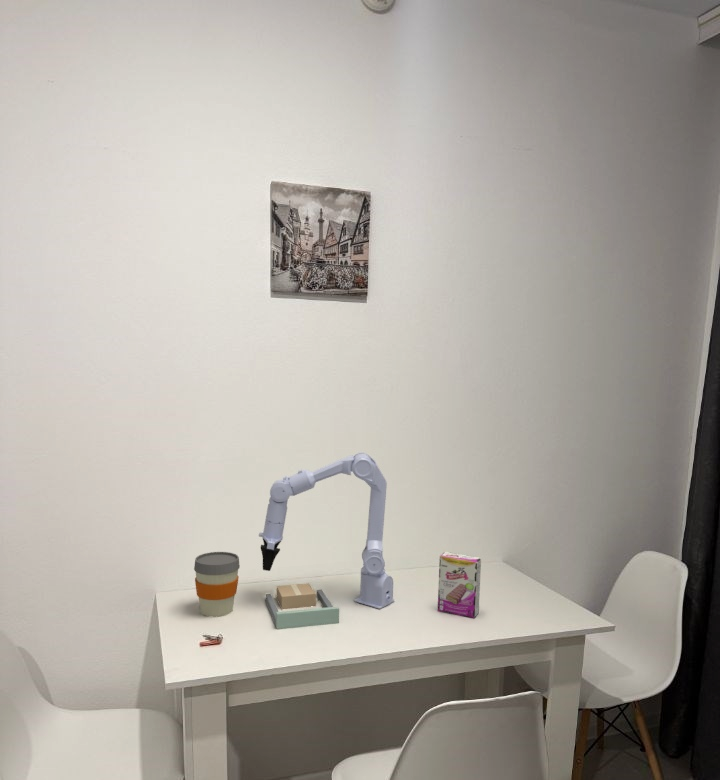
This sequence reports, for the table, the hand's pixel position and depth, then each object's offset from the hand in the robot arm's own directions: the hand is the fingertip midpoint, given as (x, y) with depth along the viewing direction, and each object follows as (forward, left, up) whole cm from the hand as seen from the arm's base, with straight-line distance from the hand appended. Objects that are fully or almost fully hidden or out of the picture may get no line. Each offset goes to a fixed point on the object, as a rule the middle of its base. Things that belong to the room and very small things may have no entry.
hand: (267, 565), depth 188 cm
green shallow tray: (-13, 0, -10) cm, 17 cm away
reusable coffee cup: (+6, +14, -11) cm, 19 cm away
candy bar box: (-48, -29, -11) cm, 57 cm away
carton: (-7, -5, -11) cm, 14 cm away
